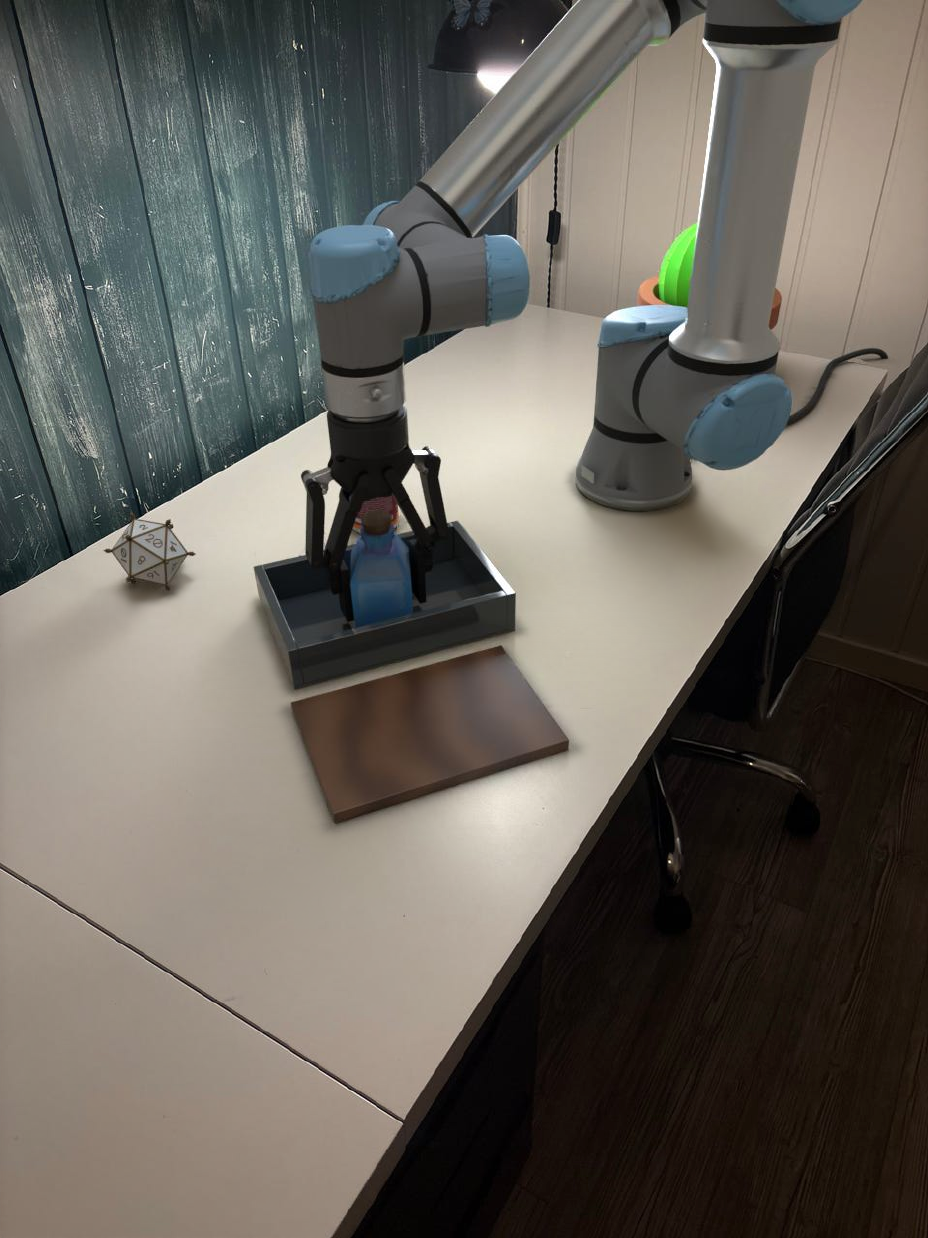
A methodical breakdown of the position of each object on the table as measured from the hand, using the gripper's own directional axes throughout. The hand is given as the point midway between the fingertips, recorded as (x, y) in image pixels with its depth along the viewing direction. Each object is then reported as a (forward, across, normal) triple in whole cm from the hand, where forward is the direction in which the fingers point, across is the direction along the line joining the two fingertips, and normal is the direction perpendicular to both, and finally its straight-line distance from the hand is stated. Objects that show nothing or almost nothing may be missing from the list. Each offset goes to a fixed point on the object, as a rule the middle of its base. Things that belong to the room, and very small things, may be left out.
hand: (383, 604), depth 99 cm
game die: (+2, -22, +17) cm, 28 cm away
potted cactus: (+2, +69, +43) cm, 81 cm away
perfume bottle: (+1, 0, 0) cm, 1 cm away
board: (+2, -2, -18) cm, 19 cm away
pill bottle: (+2, +5, +19) cm, 20 cm away
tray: (+2, 0, 0) cm, 2 cm away
